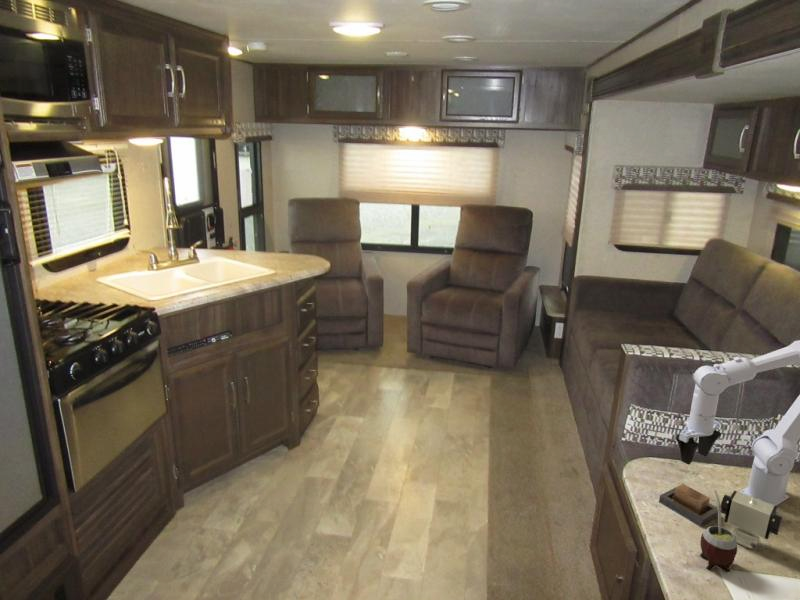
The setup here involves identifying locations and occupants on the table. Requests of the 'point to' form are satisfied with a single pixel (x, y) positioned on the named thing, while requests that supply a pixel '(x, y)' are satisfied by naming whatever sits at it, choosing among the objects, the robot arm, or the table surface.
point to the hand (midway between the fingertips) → (694, 458)
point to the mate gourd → (718, 545)
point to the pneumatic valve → (750, 518)
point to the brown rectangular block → (691, 499)
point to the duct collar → (687, 513)
